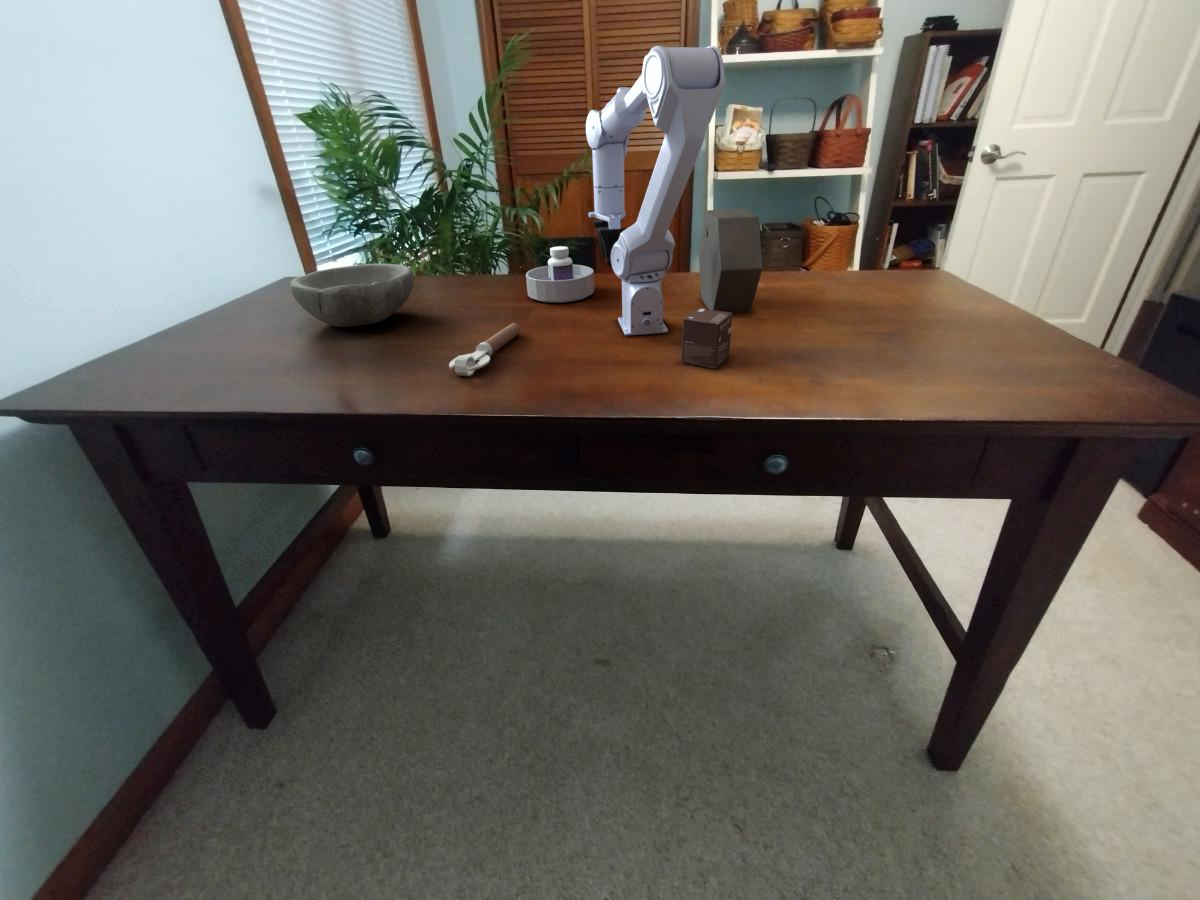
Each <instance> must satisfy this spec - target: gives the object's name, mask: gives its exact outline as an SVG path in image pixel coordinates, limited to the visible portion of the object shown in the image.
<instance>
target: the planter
mask: <svg viewBox="0 0 1200 900" xmlns="http://www.w3.org/2000/svg"><path fill="white" fill-rule="evenodd" d="M703 218H704V219H703V224H702V231H701V238H700V243H699V250H698V265H699V266H698V267H699V280H700V282H699V283H700V295H701V300H702V302H703V303H704V305H705V306H706V307H707V310H714V311H722V312H730V313H747V312H748V313H750V312H751V311H752V309H753V306H754V301H755V299H756V294H757V291H758V287H759V283H760V279H761V276H762V272H763V256H762V243H761V242H762V241H761V240H762V239H761V227H760V226H761V225H760V216H759V215H757V214H755V213H753V212H751V211H748V210H747V209H746V208H731V209H730V208H729V209H727V208H726V209H713V210H712V209H707V210H705V211H704V217H703Z"/></svg>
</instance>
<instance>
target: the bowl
mask: <svg viewBox="0 0 1200 900" xmlns="http://www.w3.org/2000/svg"><path fill="white" fill-rule="evenodd" d="M414 279H415V278H414V272H413V270H412V268H410V267H409V266H406V265H404V264H403V265H402V264H395V263H368V264H367V263H366V264H365V263H363V264H354V265H348V266H347V265H346V266H339V267H331V268H326V269H322V270H316V271H313V272H310V273H308V274H304V275H300V276H297V277H295V278H293V279H292V280H291V281H290V285H289V287H290V291H291V294H292V296H293V298H294V299H295V301H296V303H297V304H298V305H300V307H301V308H302V309H303V310H305V312H307V313H308V314H310V315H311V316H312V317H314V318H315V319H317V320H318V321H320V322H322V323H324V324H328V325H330V326H334V327H340V328H349V327H361V326H366V325H373V324H376V323H379V322H382V321H384V320H386V319H388V318H389V317H391V316H392V315H394V314H395V313H396V312H397V311H398V310H399V309H400V308H401V307H403V305H404V304H405V303H406V302H407V301H408V299H409V297H410V296H411V294H412V292H413V291H412V290H413V288H414Z"/></svg>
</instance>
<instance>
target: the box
mask: <svg viewBox="0 0 1200 900" xmlns="http://www.w3.org/2000/svg"><path fill="white" fill-rule="evenodd" d="M733 313H734V312H732V313H730V312H722V311H714V310H709V309H706V308H697V309H696V310H694V311H692V312H690V313H688V315H686V316H685V317H683V318H682V333H681V357H680V363H683V364H687V365H694V366H700V367H705V368H708V369H717V368H719V366H721V365H722V364H723V363H724V362H726V360H727V359H728V358H729V357H730V349H731V337H732V323H733Z"/></svg>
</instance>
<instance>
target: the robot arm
mask: <svg viewBox="0 0 1200 900" xmlns="http://www.w3.org/2000/svg"><path fill="white" fill-rule="evenodd" d="M725 87H726V76H725V68H724V59H723V55H722V53H721V50H719V48H718V47H716V46H714V45H707V46H705V47H703V46H702V47H698V46H697V47H694V46H693V47H690V46H688V47H687V46H685V47H684V46H683V47H682V46H680V47H677V46H676V47H675V46H671V47H670V46H662V45H655V46H652V48H651V49H650V50H649V52H648V53H647V54H646V55H644V58H643V62H642V70H641V74H640V75H639V76H638V78H637V80H636V81H635V83H634V84H633V85H632V87H627V86H623V87H622V86H620V87H618V89H617V90H616V94H615V95H614V96H613V97H612V98H611V99H610V100H609V101H608V102H607V103H606V104H605V106H604V107H603V108H602V109H601V110H596V109H591V110H589V113H588V115H587V117H586V121H585V137H586V141H587V144H588V146H589V147H590V148H591V151H592V152H591V153H592V154H591V155H592V177H593V178H592V179H593V206H594V211H590V212H588V217H589V218H594V219H595V220H593V221H592V223H593V226H594V227H595V230H596V232H597V236H598V239H599V244H600V249H601V254H602V258H603V259H605V261H606V264H607V267H608V268H612V271H613V272H614V274H615V276H616V277H617V278H618V279H620V280H621V308H622V311H621V312H622V314H621V315H622V316H620V317H618V318H617V321H618V323H619V325H620V328H621V329H622V332H623V334H624V336H639V335H653V334H666V333H668V332H669V329H668V328H667V326H666V324H665V323H664V296H663V294H662V278H665V277H666V272H668V271H669V270H670V268H671V265H672V262H673V257H674V255H673V253H674V249H675V247H676V243H675V239H674V236H673V234H672V233H671V231H670V230H669V228H670V226H671V224H672V221H673V218H674V215H675V213H676V211H677V208H678V206H679V203H680V201H681V199H682V196H683V193H684V191H685V188H686V186H687V183H688V181H689V178H690V176H691V174H692V171H693V169H694V166H695V163H696V161H697V159H698V156H699V154H700V152H701V149H702V147H703V144H704V141H705V138H706V133H707V130H708V126H709V124H710V123H711V122H712V119H713V116H714V114H715V111H716V109H717V106H718V104H719V101H720V99H721V96H722V95H723V92H724V89H725ZM648 108H649V110H650V113H651V116H652V120H653V124H654V126H655V128H656V129H658V130H660V131H661V132H662V133H664V138H663V141H662V145H661V147H660V150H659V153H658V155H657V158H656V162H655V165H654V168H653V170H652V174H651V177H650V179H649V182H648V186H647V188H646V192H645V195H644V198H643V201H642V204H641V207H640V210H639V212H638V216H637V219H636V221H635V222H634V223H633V224H632V225H630V226H628V227H621V224H622V222H623V221H622V219H624V218H625V217H626V214H627V213H626V210H625V204H626V203H625V158H626V157H627V154H628V144H629V140H630V136H631V135H630V134H631V133H632V132H633V131H634V130H635V129H636V128H637V127H638V126H639V125H641V123H643V121H644V120H645V117H646V113H647V109H648ZM596 219H597V220H596Z"/></svg>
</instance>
